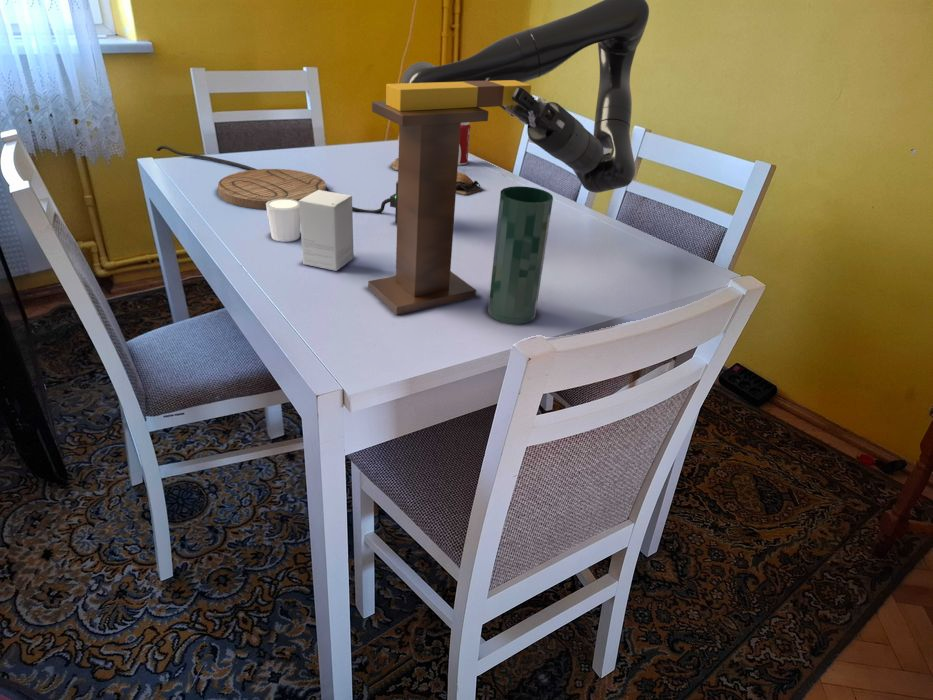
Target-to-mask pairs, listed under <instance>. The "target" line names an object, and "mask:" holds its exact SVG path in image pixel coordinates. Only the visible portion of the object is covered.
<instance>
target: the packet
mask: <svg viewBox="0 0 933 700" xmlns="http://www.w3.org/2000/svg"><path fill="white" fill-rule="evenodd" d="M517 87H521V88H523V89H524V90H525V91H527V92H528V93H529V94H530V95H531V92H532V85H531V84H529V83H526V82H524V83H522V82H519V81H516V80H502V81H462V82H435V83H401V82H400V83H385V101H386V105H388V106H390V107H392V108H394V109H397V110H399V111H414V110H433V109H452V108H471V107H477V108H492V107H493V108H495V107H496V108H497V107H500V106H508V105H518V104H517V103H516V102H515V101H513V100H512V96H513V94H514V92H515V90H516V88H517Z"/></svg>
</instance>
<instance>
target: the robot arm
mask: <svg viewBox="0 0 933 700" xmlns="http://www.w3.org/2000/svg"><path fill="white" fill-rule="evenodd" d="M649 17H650V7H649V4H648V2H647V0H601V1H599V2H597V3H594V4H592V5H590V6H589V7H586V8H584V9H582V10H580V11H577V12H575V13H572V14H569V15H566V16H564V17H560V18H558V19H555V20H552V21H549V22H547V23H544V24H541V25H538V26H535V27H530V28H527V29H524V30H522V31H518V32H515V33H512V34H510V35H506V36H505V37H502V38H500V39H498V40H496V41H495V42H493V43H491V44H489V45H488V46H486V47H484V48H483V49H481V50H480V51H479V52H476V53H475V54H473V55H471V56H469V57H467V58H464V59H461V60H457V61H454V62H450V63H446V64H441V65H437V66H436V65H434V64H433V63H431V62H427V61H418V62H415V63H413V64H411V65H409V66H408V67H407V68H406V69H405V71H404V72H403V75H402V77H401V80H400V84H401V83H435V82H462V81H502V80H516V81H519V82H522V83H526V82H530V81H532V80H535V79H538V78H541V77H543V76H546V75H548V74H549V73H551V72H553V71H555V70H556V69H557V68H558V67H560V66H561V65H563V64H564V63H565V62H567V61H568V60H569V59H571V58H572V57H574V56H575V55H576V54H578V53H579V52H580V51H582V50H584V49H585V48H588V47H589V46H592V45H595V44H597V50H598V61H599V81H598V82H599V83H598V90H597V91H598V92H597V100H596V107H595V113H594V124H593V125H594V126H593V134H592V133H591V132H590V131H589V130H587V128H585V126H584V125H583V124H582V123H581V122H580V121H579V120H578V119H577V118H575V116H573V115H572V114H571V113H570V112H569V111H567V110H566V109H565V108H564V107H562V105H560V104H559V103H558V102H554V101H549V102H545V101H543V100H541V99H540V98H537V97H534V96H533V95H532V94H531V93H530V94H529V93H528V92H527V91H525V90H524V89H523V88H521V87H517V88H516V90H515V92H514V94H513V96H512V100H513V101H515V102H516V103H517V104H518V105H508V106H499V107H500V109H502V110H504V111H505V112H506V113H508V115H510V116H511V117H513V118H516V119H518V121H519V122H520V123H522V124H524V125H526V126H527V128H526V133H527V136H528V138H529V140H530V141H531V142H532V143H534V144H535V145H537V147H539V148H540V149H542V150H543V151H544V152H546V153H548V154H549V155H550V156H551V157H553V158H554V159H557V160H558V161H560V162H562V163H563V164H565V165H566V166H567V167H569V168H570V169H571V170H572V171H573V172H574V174H575V176H576V177H577V179H578V180H579V182H580V184H581V185H582V187H583V188H584V189H585V190H587V191H588V192H591V193H595V194H597V193H604V192H608V191H611V190H612V191H613V190H617V189H623V188H625V187H628V186H630V184H631V183H632V182H633V180H634V178H635V176H636V172H637V168H636V161H635V157H634V153H633V148H632V142H631V141H632V140H631V133H630V131H631V123H632V111H633V110H632V109H633V102H632V100H633V99H632V91H631V90H632V89H631V73H632V66H633V61H634V58H635V55H636V51H637V48H638V45H639V44H640V43H641V40H642V38H643V36H644V33H645V30H646V27H647V25H648V21H649ZM163 149H164V150H167V151H170V152H172V153H173V154H177V155H180V156H184V157H190V158H197V159H202V160H207V161H212V162H218V163H222V164H227V165H232V166H235V167H239V168H241V169H245V170H247V171H249V170H258V168H255V167H252V166H249V165H246V164H242V163H238V162H235V161H230V160H227V159H223V158H218V157H214V156H207V155H202V154H196V153H191V152H184V151H179V150H177V149H174V148H173V147H170V146H168V145H164V144H163V145H162V144H161V145H159V146H158V147H157V148H156V149H155V150H156V152H160V151H161V150H163ZM604 149H610V150H611V151H610V152H607V153H605V151H604ZM388 203H389V207H390V208H394V209H395V214H394V216H395V217H394V220H395V221H394V222H395V224H396V225H397V203H398V180H396V182H395V193H394V194H392V195H390V196H389V198H386V199H383V201H382V202H381V205H380V208H378V209H374V210H368V209H362V208H359V207H354V206H352V212H357V213H369V214H370V213H371V214H380V213H382V212H384V210H385V207H386V205H387V204H388Z"/></svg>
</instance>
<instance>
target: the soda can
mask: <svg viewBox="0 0 933 700" xmlns="http://www.w3.org/2000/svg"><path fill="white" fill-rule="evenodd" d="M470 123H471V122H466V123H461V127H460V141H459V155H458V166H466V165H467V164H468V162H469V149H470V138H471V124H470Z"/></svg>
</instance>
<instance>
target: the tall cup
mask: <svg viewBox="0 0 933 700" xmlns="http://www.w3.org/2000/svg"><path fill="white" fill-rule="evenodd" d="M553 202H554V197H553V194H552V193H550V192H548V191H546V190H544V189H540V188H537V187H532V186H521V185H519V186H518V185H517V186H515V185H514V186H507V187H504V188H502V189H501V190H500V194H499V201H498V203H499V204H498V210H497V211H498V213H497V222H496V230H495V231H496V232H495V241H494V250H493V257H492V258H493V260H492V270H491V279H490V287H489V297H488V308H487V311H488V314H489V315H490V316H491V318H492V319H495V320H497V321H498V322H502V323H506V324H509V325H510V324H512V325H523V324H526V323H529V322H531V321H533V320H534V319H535V317H536V312H537V308H538V302H539V296H540V289H541V283H542V282H541V281H542V276H543V269H544V260H545V254H546V247H547V242H548V241H547V240H548V235H549V228H550V221H551V215H552V208H553Z"/></svg>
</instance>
